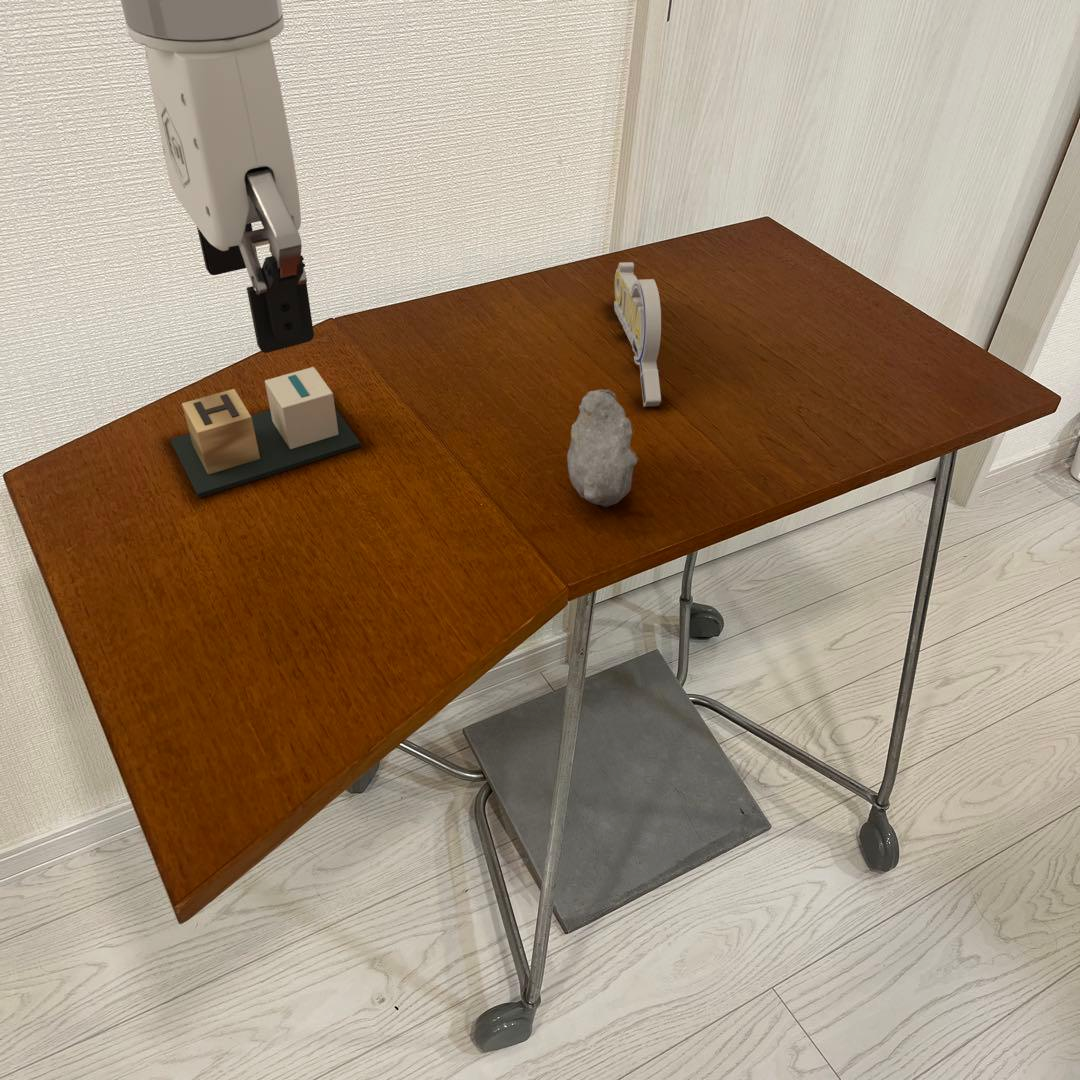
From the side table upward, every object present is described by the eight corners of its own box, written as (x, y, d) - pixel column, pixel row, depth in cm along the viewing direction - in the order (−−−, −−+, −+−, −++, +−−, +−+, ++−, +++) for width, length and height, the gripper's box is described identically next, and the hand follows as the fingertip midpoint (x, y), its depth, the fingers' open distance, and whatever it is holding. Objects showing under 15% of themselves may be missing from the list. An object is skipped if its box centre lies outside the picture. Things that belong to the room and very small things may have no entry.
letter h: (208, 475, 83) (196, 431, 80) (192, 445, 85) (181, 401, 82) (260, 459, 84) (251, 415, 81) (243, 430, 87) (234, 387, 84)
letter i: (290, 450, 85) (282, 406, 82) (272, 421, 88) (264, 378, 85) (339, 434, 87) (333, 391, 84) (320, 407, 90) (313, 365, 87)
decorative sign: (612, 336, 106) (616, 241, 101) (624, 336, 106) (629, 241, 101) (645, 410, 91) (653, 304, 86) (660, 410, 92) (668, 303, 86)
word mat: (198, 498, 81) (197, 493, 81) (171, 443, 86) (170, 438, 86) (360, 447, 87) (360, 442, 86) (326, 398, 92) (325, 393, 91)
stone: (668, 515, 82) (684, 416, 75) (596, 543, 79) (606, 442, 72) (607, 450, 87) (616, 352, 80) (538, 474, 85) (542, 375, 78)
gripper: (82, -42, 53) (157, 256, 65) (174, 65, 43) (244, 397, 55) (222, -57, 56) (270, 231, 68) (341, 40, 45) (373, 360, 57)
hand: (258, 304), depth 61 cm, fingers open, 9 cm apart
